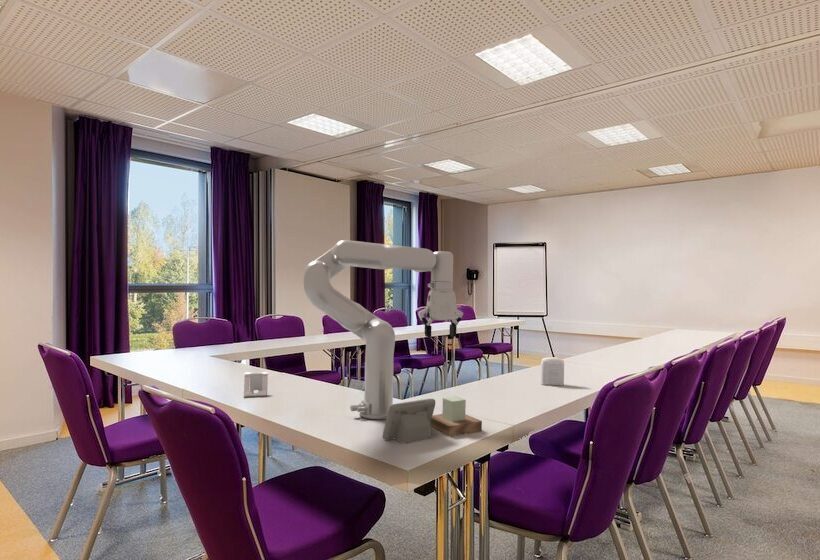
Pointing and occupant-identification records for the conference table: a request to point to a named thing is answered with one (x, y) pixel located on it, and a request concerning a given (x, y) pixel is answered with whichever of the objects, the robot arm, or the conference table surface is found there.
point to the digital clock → (409, 421)
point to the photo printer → (552, 371)
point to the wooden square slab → (455, 425)
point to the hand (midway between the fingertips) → (440, 336)
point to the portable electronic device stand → (255, 384)
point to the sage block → (454, 408)
